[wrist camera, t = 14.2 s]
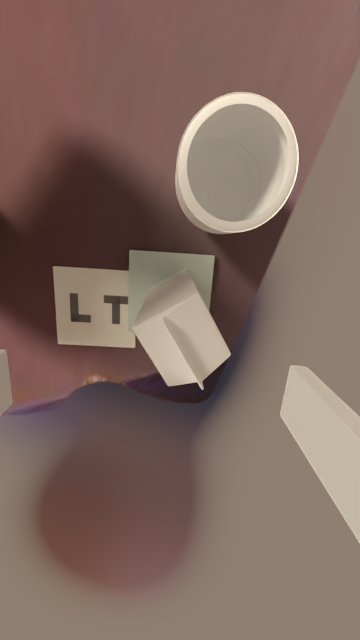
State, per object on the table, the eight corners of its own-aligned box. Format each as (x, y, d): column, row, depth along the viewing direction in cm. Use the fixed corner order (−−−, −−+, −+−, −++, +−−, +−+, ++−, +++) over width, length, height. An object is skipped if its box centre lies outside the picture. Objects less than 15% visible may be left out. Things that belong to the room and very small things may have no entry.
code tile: (60, 341, 43) (57, 344, 42) (55, 265, 40) (52, 266, 39) (135, 345, 44) (135, 348, 43) (137, 270, 40) (136, 271, 39)
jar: (235, 244, 39) (273, 246, 24) (165, 223, 38) (162, 213, 23) (261, 164, 36) (320, 113, 22) (186, 139, 35) (196, 69, 21)
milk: (185, 267, 39) (204, 298, 17) (205, 303, 40) (243, 372, 19) (148, 288, 39) (123, 341, 18) (169, 322, 41) (168, 410, 20)
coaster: (129, 329, 42) (128, 331, 41) (130, 249, 39) (129, 249, 38) (206, 333, 43) (206, 335, 42) (213, 255, 39) (214, 255, 38)
